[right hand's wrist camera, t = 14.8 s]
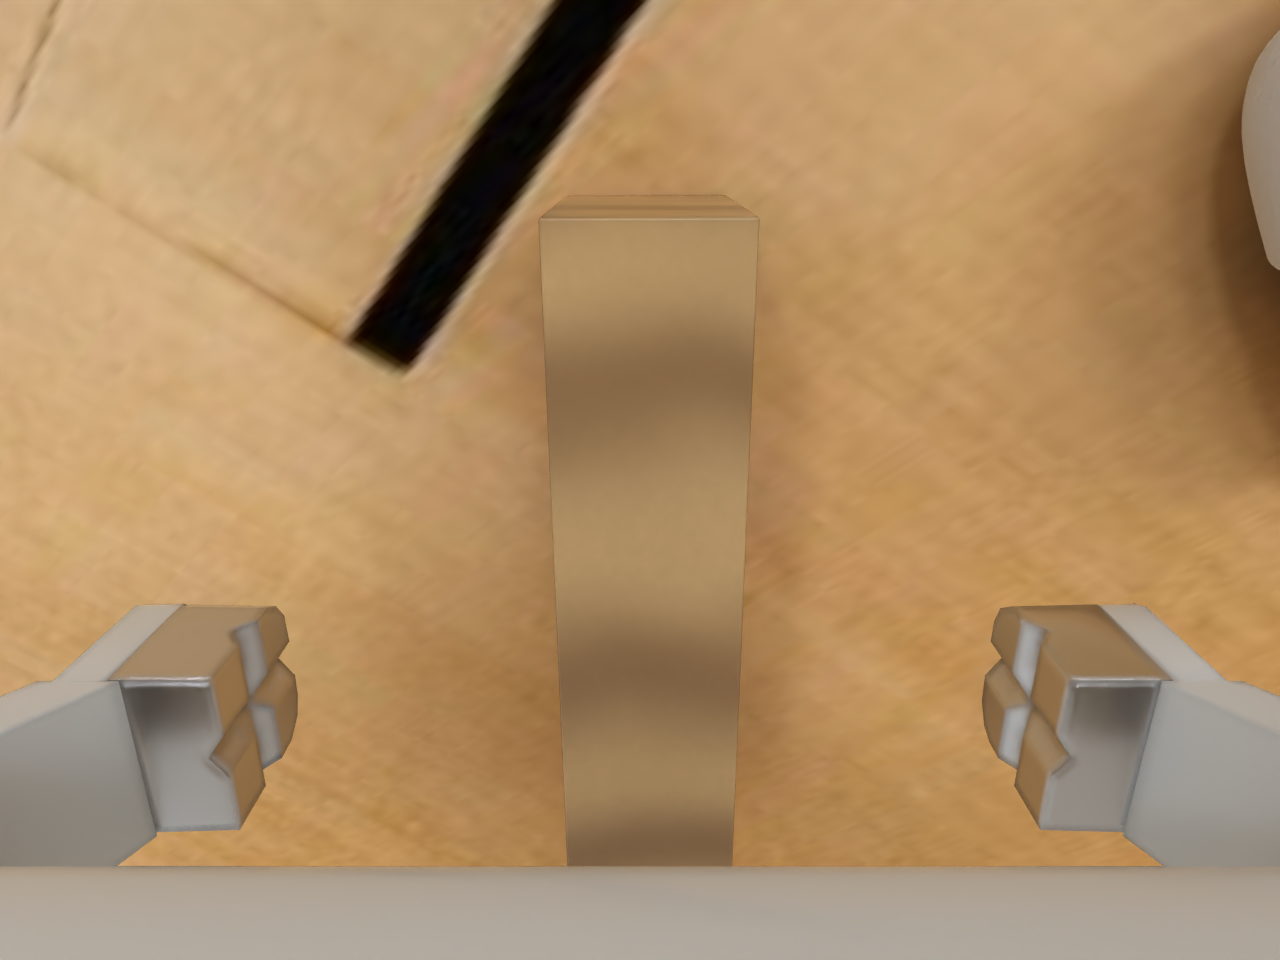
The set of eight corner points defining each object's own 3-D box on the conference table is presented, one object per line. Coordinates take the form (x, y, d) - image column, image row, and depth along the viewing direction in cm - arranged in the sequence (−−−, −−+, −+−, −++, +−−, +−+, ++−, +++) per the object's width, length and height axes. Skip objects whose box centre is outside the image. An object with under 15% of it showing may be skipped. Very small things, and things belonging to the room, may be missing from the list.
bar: (566, 195, 30) (537, 217, 22) (726, 195, 30) (759, 216, 22) (586, 805, 40) (572, 983, 31) (708, 805, 40) (727, 983, 31)
